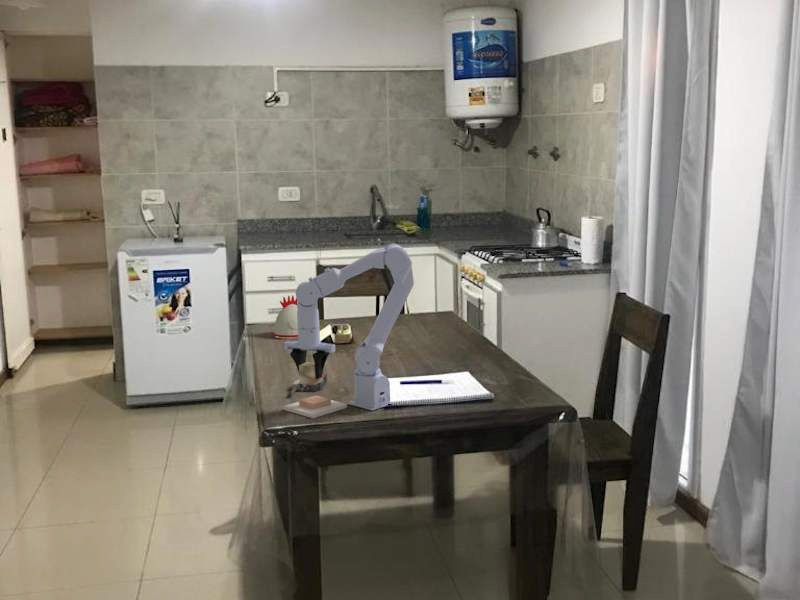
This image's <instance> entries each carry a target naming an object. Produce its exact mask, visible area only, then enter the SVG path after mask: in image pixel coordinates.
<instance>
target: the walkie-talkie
mask: <svg viewBox="0 0 800 600" xmlns="http://www.w3.org/2000/svg"><path fill="white" fill-rule="evenodd" d="M327 382H328V373H327V372H325V371H323V374H322V381H321V382H319V383H318V384H316V385H308V384H300V378H299V379H295V380H294V382H293V383H292V384H291V391H289V396H294V394H295V393H296V391H300V392H304V391H305V392H307V391H308V392H309V391H311V392H312V391H313V392H314V391H315V392H316V391H317V392H320V391H322V390H323V389H324V387H325V386H326V384H327Z"/></svg>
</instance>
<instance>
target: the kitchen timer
mask: <svg viewBox="0 0 800 600" xmlns="http://www.w3.org/2000/svg"><path fill="white" fill-rule="evenodd" d="M282 300H283V301H281V300H279V303H280V305H281V307H282V309H281V310H280V311H279V312H278V314H277V316H276V319H275V323H274V327H273V336H274V335H275V336H279V337H297V336H298V322H297V310H298V308H297V303H298V300H297V298H296V297H295V296H294V295H291V297H290V295H288V296H287V300H286V297H285V296H283V298H282Z"/></svg>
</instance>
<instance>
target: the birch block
mask: <svg viewBox="0 0 800 600" xmlns="http://www.w3.org/2000/svg"><path fill="white" fill-rule="evenodd" d="M298 374H299V379H300V384H308V385H316V384H318V383H319V382H321V381H322V377H321V378H319V379H316V374H315V363H314V361H306V363H303V364H301V365H299V372H298Z"/></svg>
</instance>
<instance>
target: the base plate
mask: <svg viewBox="0 0 800 600" xmlns="http://www.w3.org/2000/svg"><path fill="white" fill-rule="evenodd" d="M282 408H283V411H287V412H291V413H294V414H297V415H301V416H303V417H307V418H311V419H314V418H315V419H316V418H318V417H321V416H325V415H327V414H332V413H335V412H338V411H341V410H345V409H347V408H348V403H343V402H340V401H336V400H333V399H331V398H327V397H324V396H319V395H313V396H309V397H306V398H301V399H299V400H298V401H297V402H293V403H290V404H287V405H283V407H282Z"/></svg>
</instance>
